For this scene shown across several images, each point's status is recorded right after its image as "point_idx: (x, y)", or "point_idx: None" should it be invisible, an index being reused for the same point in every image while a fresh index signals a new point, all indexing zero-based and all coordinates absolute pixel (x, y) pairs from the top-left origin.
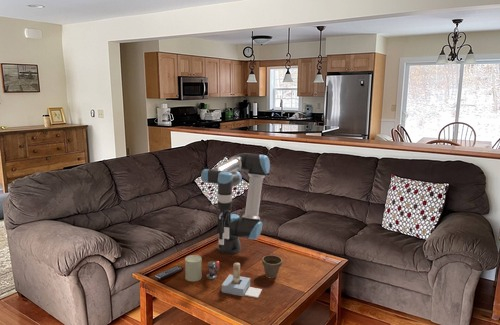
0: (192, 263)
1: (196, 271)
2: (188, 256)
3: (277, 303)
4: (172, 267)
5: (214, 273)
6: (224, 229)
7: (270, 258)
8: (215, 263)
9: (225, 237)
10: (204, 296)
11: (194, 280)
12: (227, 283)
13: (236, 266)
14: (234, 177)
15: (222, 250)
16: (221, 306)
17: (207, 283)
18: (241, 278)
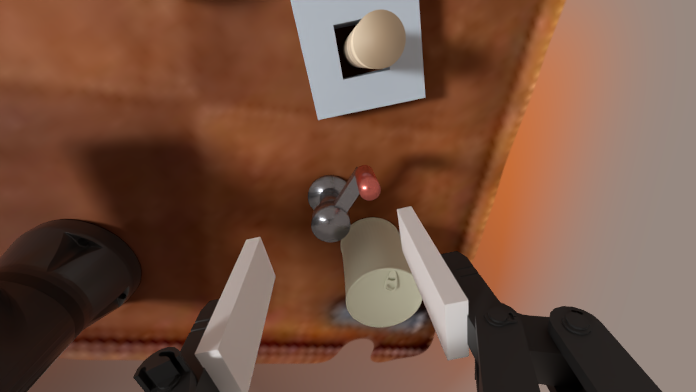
0: None
1: (396, 243)
2: (378, 323)
3: None
4: (351, 325)
5: (310, 197)
6: (253, 365)
7: None
8: (325, 210)
9: (268, 273)
10: (470, 136)
11: (393, 227)
12: (400, 80)
13: (403, 27)
14: None
15: (133, 274)
16: (514, 30)
17: (383, 179)
18: (320, 38)
